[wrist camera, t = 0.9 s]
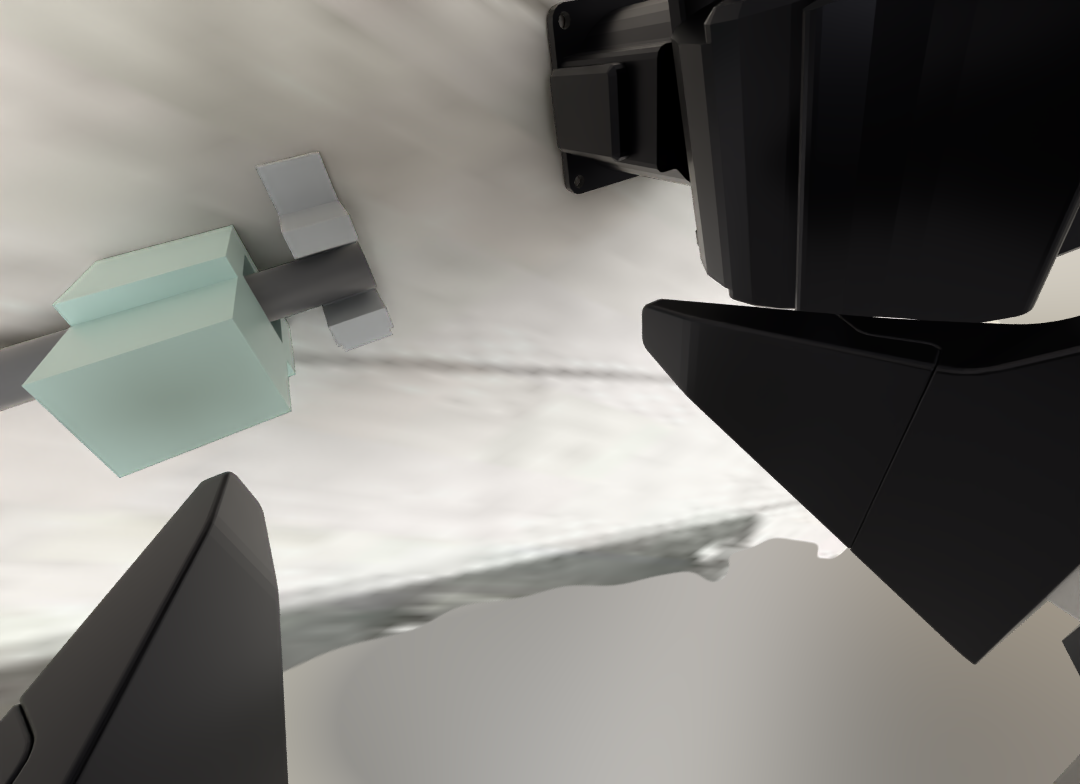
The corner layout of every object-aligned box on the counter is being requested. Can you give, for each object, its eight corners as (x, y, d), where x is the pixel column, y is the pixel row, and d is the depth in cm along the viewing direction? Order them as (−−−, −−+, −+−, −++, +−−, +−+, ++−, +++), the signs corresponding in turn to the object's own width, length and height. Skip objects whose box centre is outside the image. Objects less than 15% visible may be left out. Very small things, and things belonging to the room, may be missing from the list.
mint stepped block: (232, 224, 15) (216, 294, 10) (289, 327, 18) (302, 427, 12) (95, 261, 14) (-5, 361, 9) (177, 365, 17) (136, 493, 11)
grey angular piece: (317, 151, 15) (332, 166, 12) (389, 328, 20) (415, 375, 16) (-518, 346, 10) (-889, 466, 7) (-175, 532, 14) (-303, 660, 11)
